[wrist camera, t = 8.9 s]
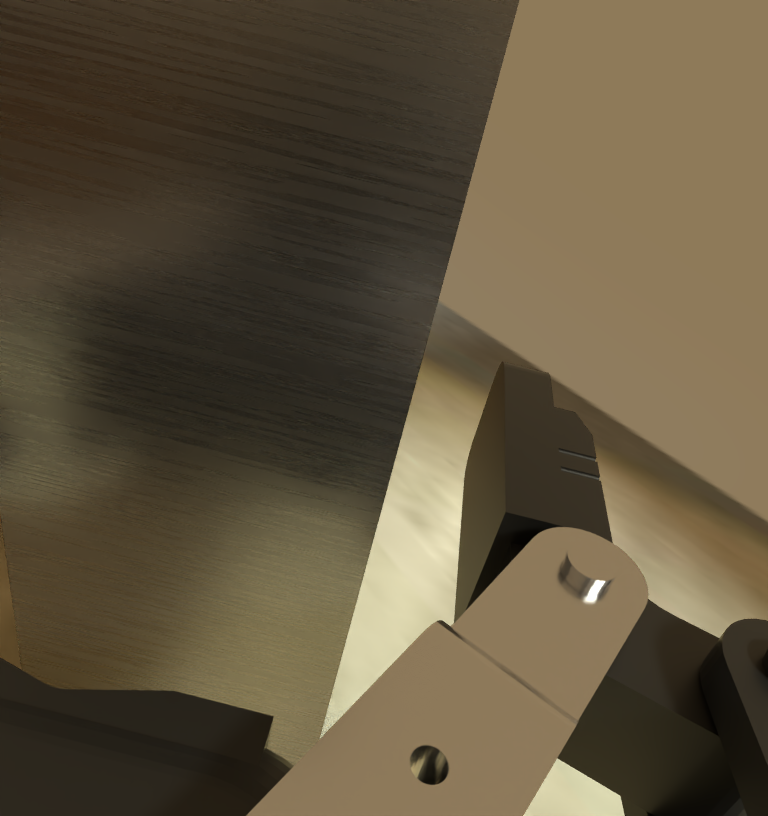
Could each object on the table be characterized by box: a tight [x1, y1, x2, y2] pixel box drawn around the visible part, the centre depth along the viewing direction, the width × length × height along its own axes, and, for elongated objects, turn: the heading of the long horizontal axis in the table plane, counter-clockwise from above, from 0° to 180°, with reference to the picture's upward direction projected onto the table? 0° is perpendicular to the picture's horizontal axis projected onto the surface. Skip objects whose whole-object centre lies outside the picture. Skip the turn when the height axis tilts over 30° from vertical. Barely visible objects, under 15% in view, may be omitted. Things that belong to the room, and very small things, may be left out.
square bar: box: [0, 0, 519, 766], centre depth 10 cm, size 4×4×14 cm
